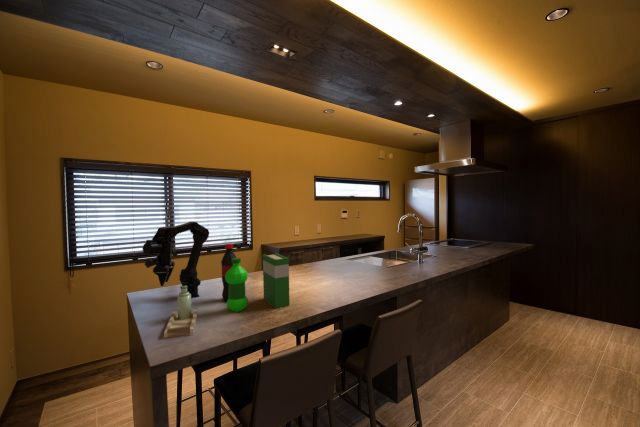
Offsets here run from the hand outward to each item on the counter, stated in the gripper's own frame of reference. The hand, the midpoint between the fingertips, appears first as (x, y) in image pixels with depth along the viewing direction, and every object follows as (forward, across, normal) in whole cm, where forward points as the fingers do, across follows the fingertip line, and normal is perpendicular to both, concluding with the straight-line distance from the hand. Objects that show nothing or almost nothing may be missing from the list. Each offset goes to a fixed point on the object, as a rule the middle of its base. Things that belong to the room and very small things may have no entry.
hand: (164, 283), depth 146 cm
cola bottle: (+11, -3, +32) cm, 34 cm away
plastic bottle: (+12, +14, +35) cm, 40 cm away
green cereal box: (+10, +9, +55) cm, 56 cm away
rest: (+13, +25, +13) cm, 31 cm away
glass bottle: (+12, +17, +12) cm, 24 cm away
